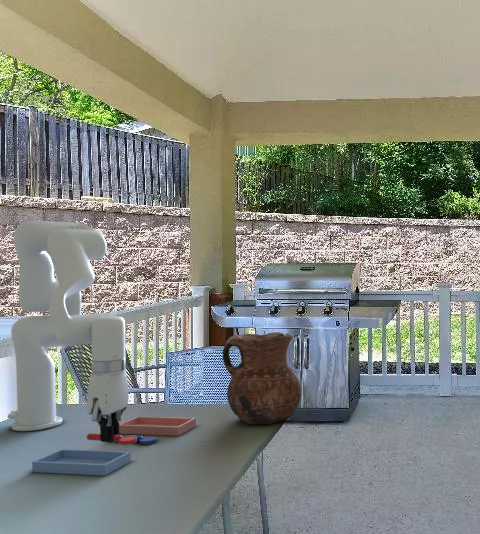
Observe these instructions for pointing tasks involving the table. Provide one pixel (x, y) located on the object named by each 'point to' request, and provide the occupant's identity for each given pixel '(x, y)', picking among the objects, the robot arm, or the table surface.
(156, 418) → the rose tray
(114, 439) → the red spoon
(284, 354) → the jug
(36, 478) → the table surface
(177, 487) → the table surface
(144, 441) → the navy spoon
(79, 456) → the blue tray
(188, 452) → the table surface
